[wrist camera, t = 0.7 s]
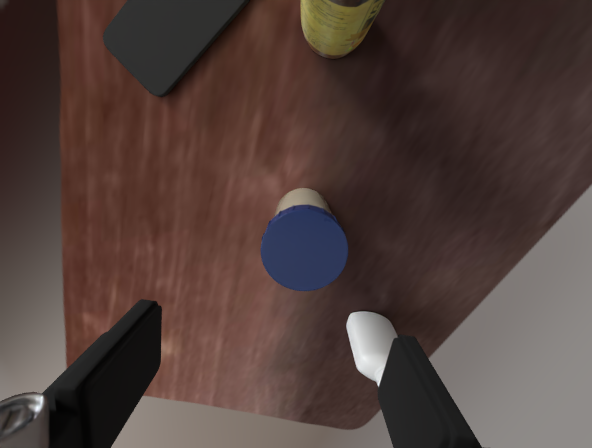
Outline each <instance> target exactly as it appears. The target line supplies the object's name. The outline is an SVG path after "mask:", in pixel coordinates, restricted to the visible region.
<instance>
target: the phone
mask: <svg viewBox="0 0 592 448" xmlns="http://www.w3.org/2000/svg"><path fill="white" fill-rule="evenodd" d="M249 1H250V0H128V1H127V2H126V3H125V4H124V6H123V7H122V8H121V10H120V11H119V12H118V14H117V15H116V16H115V18H114V19H113V20H112V21H111V23H110V24H109V25H108V27H107V28H106V30H105V32H104V35H103V41H104V44H105V46H106V47H107V49H108V50H109V51H110V52H111V53H112V54H113V55H114V56H115V57H116V58H117V59H118V60H119V61H120V63H121V64H122V65H123V66H124V67H125V68H126V69H127V70H128V71H129V72H130V73H131V74H132V75H133V76H134V77H135V78H136V79H137V80H138V81H139V82H140V83H141V84H142V85H143V86H144V87H145V88H146V89H147V90H148V91H149V92H150V93H151V94H153V95H156V96H159V97H163V96H165V95H167V94H168V93H169V92H170V91H171V90H172V89H173V88H174V87H175V85H176V84H177V83H178V82H179V81H180V80H181V79H182V77H183V76H184V75H185V74H186V73H187V72H188V71H189V69H190V68H191V67H192V66H193V65H194V64H195V63H196V61H197V60H198V59H199V58H200V57H201V56H202V55H203V53H204V52H205V51H206V50H207V49H208V48H209V47H210V45H211V44H212V43H213V42H214V41H215V40H216V39H217V37H218V36H219V35H220V34H221V33H222V32H223V31H224V29H225V28H226V27H227V26H228V25H229V24H230V23H231V21H232V20H233V19H234V18H235V17H236V16H237V15H238V13H239V12H240V11H241V10H242V9H243V8H244V7H245V5H246V4H247V3H248V2H249Z"/></svg>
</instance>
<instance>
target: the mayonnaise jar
mask: <svg viewBox="0 0 592 448" xmlns="http://www.w3.org/2000/svg"><path fill="white" fill-rule="evenodd" d="M308 204H309V205H313V206H317V207H320V208H324V210H326V211H328V212H329V213H330V214H332V212H331V210H330V208H329V205H328V203H327V201H326V200H325V198H324V197H323V196H322V195H321V194H319V193H318V192H316V191H314V190H311V189H306V188H300V189H295V190H292V191H290V192H289V193H287V194H286V195H285V196H284V197H283V198H282V199H281V200H280V202H279V204H278V206H277V209H276V212H275V215H274V217H275V216H276V215H277V214H278V213H279V211H283V210H284V209H286V208H289V207H291V206H293V205H294V206H295V205H308Z"/></svg>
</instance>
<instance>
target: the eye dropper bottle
mask: <svg viewBox="0 0 592 448" xmlns="http://www.w3.org/2000/svg"><path fill="white" fill-rule="evenodd" d="M346 327H347V331H348V335H349V340H350V344H351V348H352V351H353V355H354V359H355V363H356V366H357V368H358V370H359V371H360V372H361V373H362V374H363V375H365V376H366V377H368V378H370V379H372V380H374V381H376V382H377V384H378V387H379V384H380V381H381V378H382V374H383V371H384V368H385V364H386V361H387V358H388V355H389V351H390V348H391V345H392V342H393V339H394V338H397V337H398V336H397V334H396V332H395V330H394V328H393V326H392V324H391V322H390V321H389V320H388V319H387V318H385V317H384V316H382V315H379V314H376V313H373V312H365V311H362V312H354V313H351V314H350V315H349V318H348V321H347V324H346Z"/></svg>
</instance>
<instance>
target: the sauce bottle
mask: <svg viewBox="0 0 592 448" xmlns="http://www.w3.org/2000/svg"><path fill="white" fill-rule="evenodd" d="M384 2H385V0H301V23H302V28H303V33H304V36H305V38H306V40H307V42H308V44H309V46H310V48H311V49H312V50H313V51H314V52H315V53H317V54H318V55H321V56H323V57H325V58H330V59H337V58H341V57H343V56H345V55H347V54H348V53H350V52H352V51H353V50H354V49H355V48H356V47H357V46H358V45H359V44H360V43H361V42H362V40H363V39H364V37H365V36H366V34H367V32H368V30H369V28H370V27H371V25H372V23H373V21H374V19H375V18H376V16H377V14H378V13H379V11H380V9H381V7H382V5H383V3H384Z"/></svg>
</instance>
